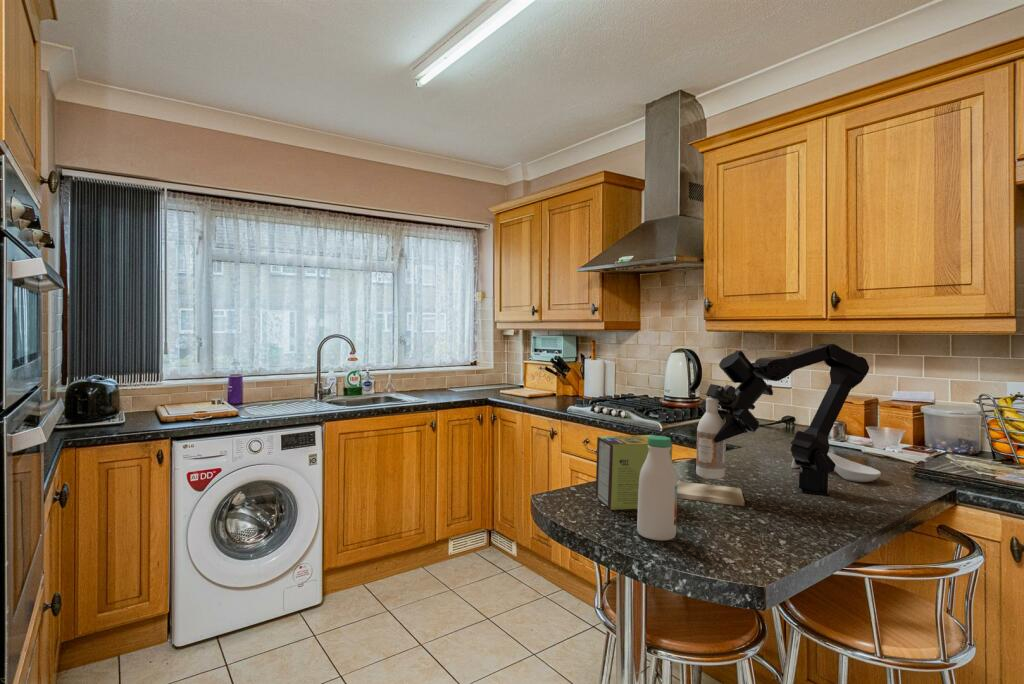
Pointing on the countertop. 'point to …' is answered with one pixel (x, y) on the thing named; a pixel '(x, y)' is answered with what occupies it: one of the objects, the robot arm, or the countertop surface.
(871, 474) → the spoon rest
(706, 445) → the bath foam
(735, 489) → the birch board
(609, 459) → the protein box
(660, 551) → the countertop surface
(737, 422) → the robot arm
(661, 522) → the milk bottle
